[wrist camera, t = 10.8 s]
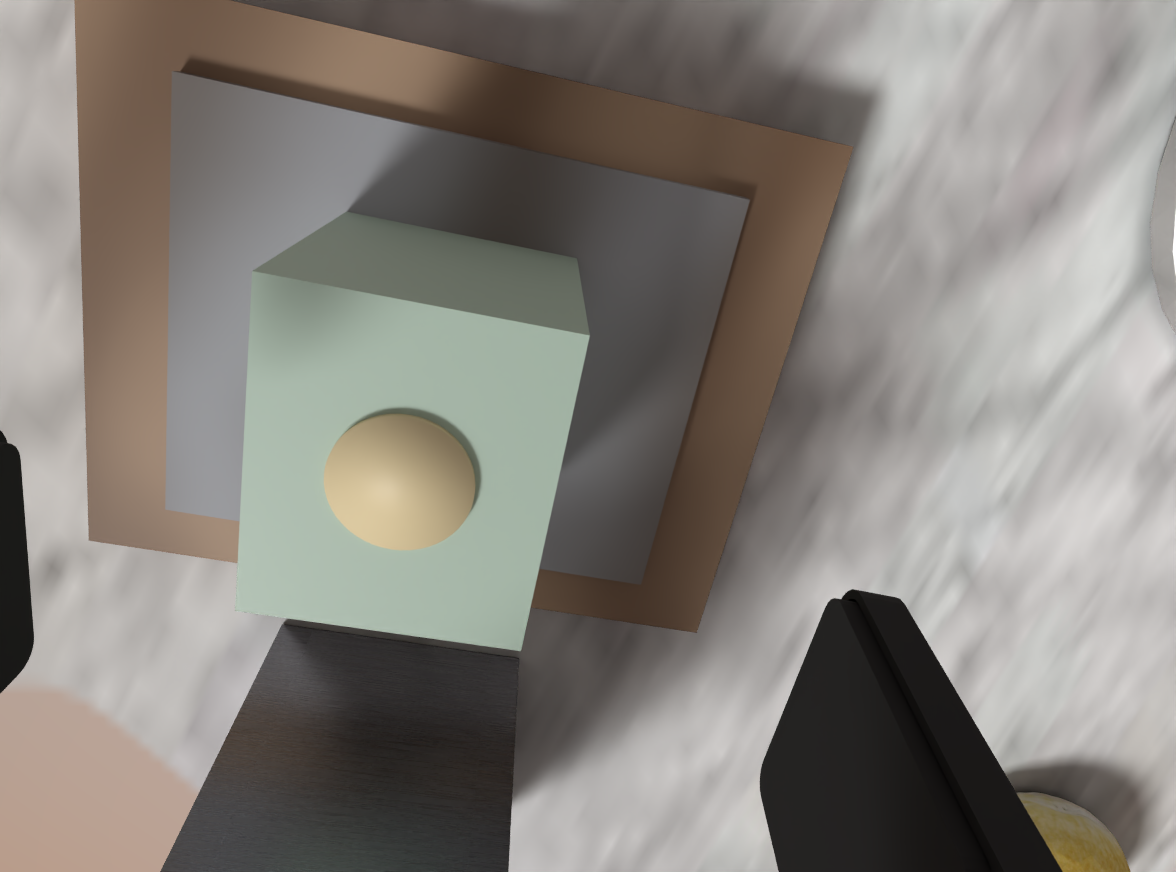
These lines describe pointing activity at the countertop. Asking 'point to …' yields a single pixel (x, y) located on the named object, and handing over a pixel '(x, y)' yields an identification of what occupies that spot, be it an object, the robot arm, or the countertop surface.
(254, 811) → the column
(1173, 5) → the countertop surface
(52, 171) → the countertop surface
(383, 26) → the countertop surface
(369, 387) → the block
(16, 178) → the countertop surface
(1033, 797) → the bread roll
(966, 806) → the robot arm
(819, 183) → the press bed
